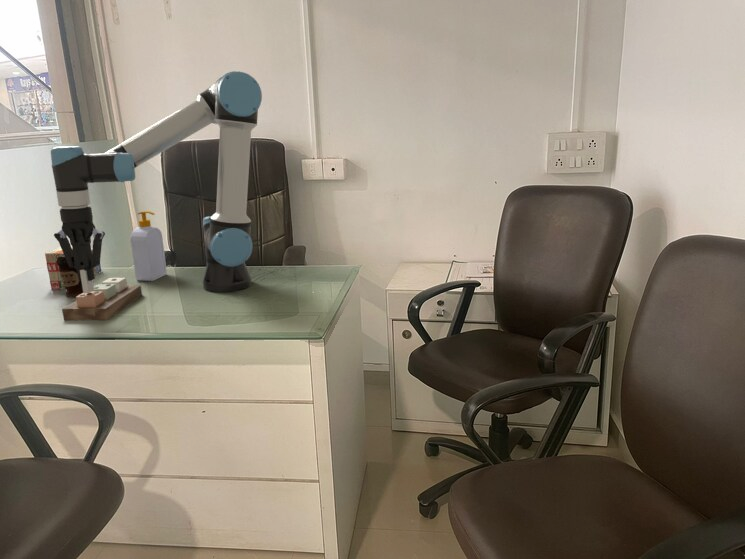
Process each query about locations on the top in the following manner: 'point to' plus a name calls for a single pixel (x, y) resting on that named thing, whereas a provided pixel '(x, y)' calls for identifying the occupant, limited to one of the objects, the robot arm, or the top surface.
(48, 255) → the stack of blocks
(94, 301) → the tile three
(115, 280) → the tile one
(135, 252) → the soap bottle
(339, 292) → the top surface
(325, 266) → the top surface
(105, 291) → the tile two
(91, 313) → the brown flat block
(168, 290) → the top surface
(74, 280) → the coffee cup
